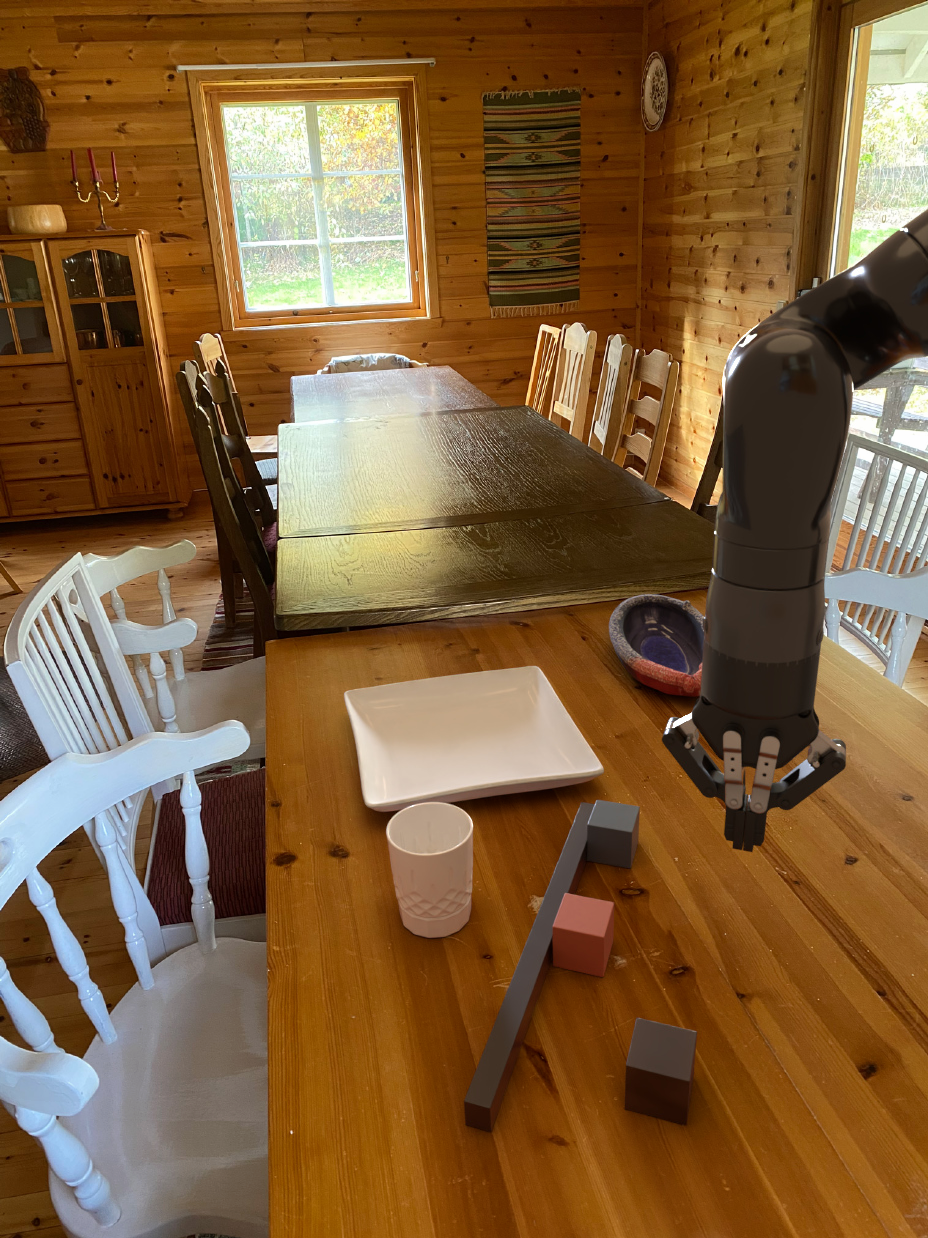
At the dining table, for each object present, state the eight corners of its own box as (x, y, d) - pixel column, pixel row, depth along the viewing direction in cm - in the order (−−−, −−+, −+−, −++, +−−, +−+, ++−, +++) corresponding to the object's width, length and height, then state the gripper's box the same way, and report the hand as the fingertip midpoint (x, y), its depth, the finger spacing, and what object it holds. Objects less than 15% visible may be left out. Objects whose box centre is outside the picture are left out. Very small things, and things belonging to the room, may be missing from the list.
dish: (695, 616, 147) (697, 587, 145) (744, 711, 119) (748, 677, 117) (598, 619, 148) (599, 590, 146) (625, 714, 120) (626, 680, 118)
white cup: (428, 875, 92) (421, 792, 88) (493, 904, 88) (489, 818, 84) (377, 922, 86) (368, 836, 82) (444, 956, 82) (438, 866, 78)
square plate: (368, 834, 99) (364, 805, 97) (345, 713, 123) (342, 687, 122) (606, 795, 103) (607, 766, 102) (538, 685, 128) (538, 660, 126)
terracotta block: (613, 941, 83) (614, 902, 81) (603, 978, 79) (604, 937, 77) (564, 931, 84) (564, 892, 82) (552, 966, 80) (552, 926, 79)
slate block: (638, 842, 96) (639, 806, 94) (630, 869, 92) (632, 832, 90) (595, 834, 97) (596, 799, 95) (586, 861, 93) (587, 824, 91)
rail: (599, 824, 99) (599, 804, 98) (491, 1132, 66) (490, 1108, 65) (581, 821, 99) (581, 801, 98) (465, 1125, 67) (463, 1101, 66)
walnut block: (693, 1074, 70) (697, 1031, 68) (686, 1126, 66) (689, 1081, 64) (634, 1060, 71) (636, 1017, 69) (624, 1109, 67) (625, 1065, 66)
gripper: (868, 621, 62) (838, 830, 69) (671, 603, 67) (662, 801, 74) (870, 670, 56) (837, 895, 63) (652, 646, 60) (645, 858, 67)
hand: (743, 844), depth 68 cm, fingers closed
